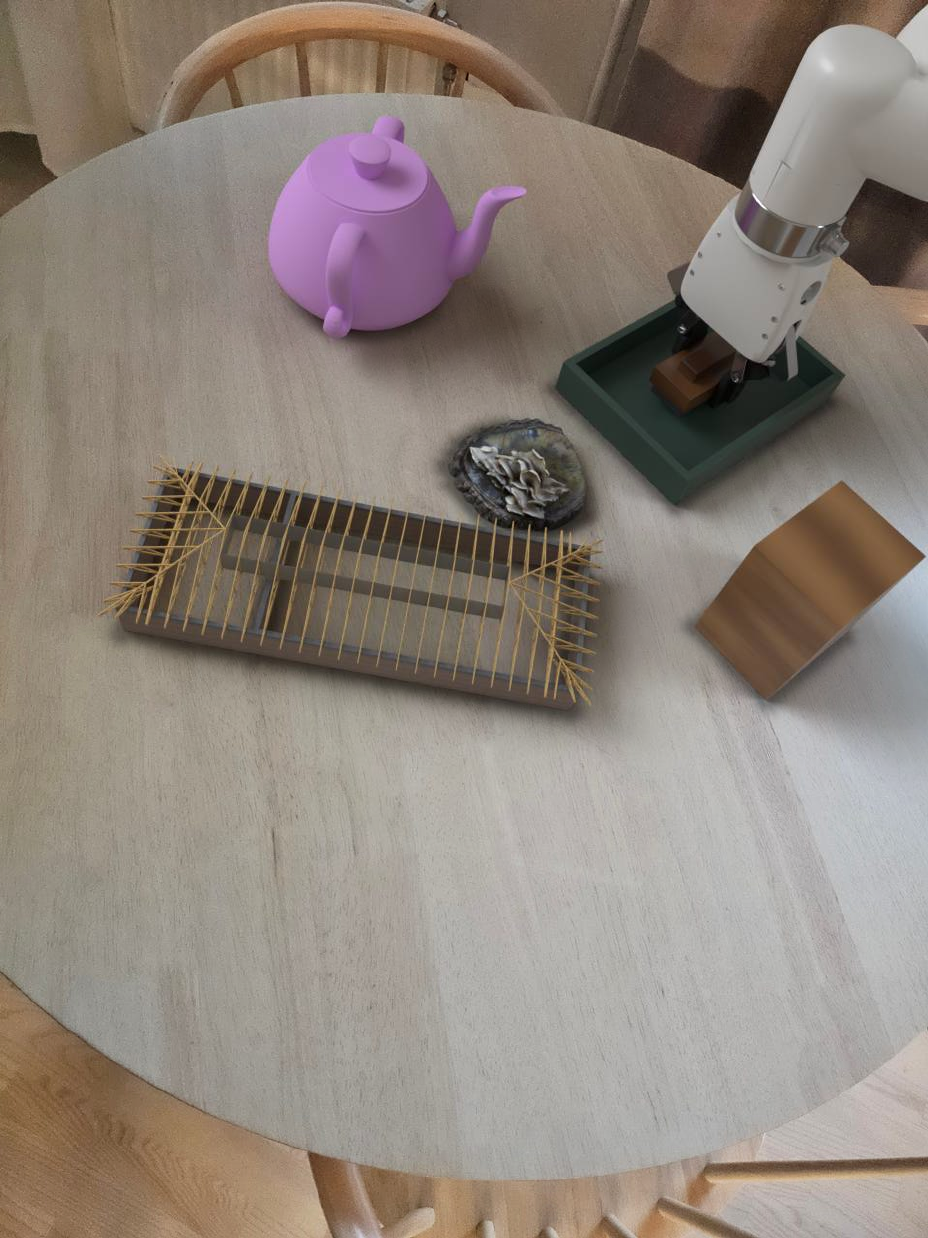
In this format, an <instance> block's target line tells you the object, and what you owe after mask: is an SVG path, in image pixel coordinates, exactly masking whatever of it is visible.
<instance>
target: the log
mask: <svg viewBox="0 0 928 1238" xmlns="http://www.w3.org/2000/svg"><path fill="white" fill-rule="evenodd" d="M451 459H452V460H453V461H452V462H451V463H448V464H447V468H448V472H449V474H450V475H451V476H453V477H454V481H453V486H454V487H455V489H457V490H458V491H460V492H462V496H463V499H464V500H465V501H466V502H467V503H470V504H471V505H472V506H473V508H474V509H475V511H476V512H477V513H478V515H479V516H480V517H481V518H483V519H485V520H486V521H487V522H490V523H491V524H493V525H495V519H496V518H497V521H496V526H499V527H501V528H504V529H505V528H506V529H512V523H513V521H514V528H513V529H515V530H516V529H517V530H527V531H528V529H529V524H530V531H536V532H541V531H543V532H544V533H545V528H547V530H546V532H549V531H554V530H557V529H560V528H561V527H563V526H565V525H567V524H569V523H571V522H573V521H575V520H577V518H579V517H580V515H582V513H583V511H584V508H585V500H586V495H587V488H586V480H585V476H584V474H583V473H584V472H583V469H582V466H581V462H580V460H579V457H578V454H577V452H576V451H575V448H574V446H573V444H572V443H571V442H570V440H569V438H568V437H567V435H565V434H564V432H563V429H562V427H561V426H555V425H554V424H553V423H546V422H544V421H542V420H541V419H540V418H537V417H535V418H534V419H531V418H530V417H526V418H524V419H516V420H515V419H514V418H513V419H509V420H508V421H507V422H503V423H497V424H496V423H495V424H494V425H491V426H490V427H487V426H481V427H479V428H478V429H477V430H476V431H475V432H474V434H473V435H470V434H469V435H467V436H465V437H464V438H463V439H462V440H461V441H460V442H459V443H458V449H457V450H456V451H455V452H454V453H453V455H452V457H451Z"/></svg>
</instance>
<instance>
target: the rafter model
mask: <svg viewBox="0 0 928 1238" xmlns="http://www.w3.org/2000/svg"><path fill="white" fill-rule="evenodd" d="M157 456H158V457H159V458H160V460H161V461H162V462H163V464H164V466H165V467H166V468H163V467H160V466H158V465H155V464H153V468H154V469H156V470H157V471H159V472H160V473H162V474H163V476H162V478H161V479H152V480H151V479H148V480H147V484H151V485H156V486H159V487H158V489H157V492H156V495H145V496H141V499H142V500H146V501H150V502H153V503H152V506H151V507H150V511H149V512H135V516H137V517H143V518H147V519H146V521H145V525H144V527H143V528H142V529H141V528H140V529H128V530H129V533H133V534H139V535H140V539H139V541H138V544H137V546H122V549H123V550H126V551H131V552H134V555H133V558H132V559H131V560H132V561H131V563H117V564H116V567H117V568H121V569H128V571H127V574H126V577H125V579H124V581H110V582H109V585H111V586H116V587H121V590H120V593H118V594H116V595H114V596H111V597H107V598H105V599H103V600H102V602H103V603H109V602H113V604H111V605H109V606H108V607H106V608H105V609H104V610H102V611H101V612H99V613H98V614H97V617H101V616H104V615H105V614H108V613H110V612H112V611H113V610H115V611H116V614H115V616H114V617H113V618H114V621H116V620H117V619H118V620H119V622H120V625H121V628H122V630H123V631H127V632H133V633H137V634H138V633H139V634H143V635H149V636H153V637H154V636H155V637H161V638H165V639H172V640H178V641H183V642H188V643H192V644H193V643H194V644H199V645H204V646H211V647H215V648H221V649H227V650H232V651H237V652H243V653H249V654H255V655H260V656H266V657H270V658H276V659H283V660H287V661H293V662H297V663H298V662H299V663H305V664H310V665H314V666H315V665H316V666H321V667H327V668H331V669H332V668H333V669H337V670H343V671H348V672H354V673H359V674H365V675H370V676H376V677H382V678H388V679H393V680H397V681H398V680H399V681H404V682H410V683H415V684H421V685H425V686H430V687H437V688H441V689H449V690H453V691H459V692H464V693H470V694H474V695H475V694H476V695H481V696H486V697H493V698H497V699H504V700H508V701H514V702H519V703H526V704H530V705H535V706H542V707H548V708H552V709H558V710H565V711H570V709H571V707H572V706H573V704H576V703H577V701H576V699H577V698H578V696H579V695H580V696H581V697H582V699H584V701H585V702H586V703H587V704H588V705H589V706H590V707H591V706H592V703H591V701H590V699H589V698H588V696H587V695H586V693H585V692H584V691H583V689H582V688H581V687H583V688H584V689H587V690H588V691H590V692H592V691H593V688H592V687H590V686H589V685H588V684H587V683H586V682H585V681H584V680H582V672H583V673H589V674H590V673H591V674H594V673H595V670H592V669H590V668H588V667H585V666H583V654H589V655H593V656H595V655H596V652H595V651H592V650H590V649H587V648H585V647H584V643H585V642H584V641H585V636H589V637H593V638H594V637H595V638H596V637H598V634H597V633H593V632H591V631H588V630H586V619H587V618H588V619H592V620H593V619H594V620H598V619H599V616H596V615H594V614H591V613H589V612H587V605H588V601H590V602H596V603H599V602H600V599H598V598H596V597H593V596H591V595H589V594H588V593H589V592H588V591H589V590H588V589H589V584H591V585H595V586H596V585H597V586H600V585H601V582H599V581H596V580H595V579H591V578H590V569H591V568H594V569H600V570H601V569H602V568H603V566H601V565H599V564H597V563H595V562H592V561H591V557H592V556H593V555H597V554H603V552H604V550H602V549H601V550H600V549H599V550H592V548H593V547H595V546H597V545H598V544H600V543H602V542H603V541H604V538H601V539H599V540H597V541H594V542H592V543H590V544H588V545H585V544H586V543H587V541H588V539H590V535H588V536H587V537H586V538H585V540H584V541H583V542H582V543H581V544H576V543H572V531H570V532H569V534H568V542H566V541H564V530H563V529H561V530H560V534H559V540H555V539H550V538H547V531H546V530H547V528H545V532H544V536H543V537H539V536H535V535H531V530H530V524H529V529H528V530H527V534H523V533H519V532H514V529H515V528H514V521H513V523H512V528H511V531H508V530H504V529H497V525H496V521H497V518H496V519H495V524H494V527H493V528H492V527H487V526H481V525H479V524H480V523H479V522H480V514H478V516H477V522H476V524H471V523H465V522H462V517H463V511H462V510H461V511H460V516H459V517H460V518H459V521H457V520H451V519H447V518H446V519H445V518H444V517H445V511H446V507H444V508H443V512H442V517H441V518H440V517H434V516H429V515H427V510H428V506H429V505H428V504H426V507H425V512H424V514H418V513H413V512H409V509H410V506H411V501H409V502H408V507H407V511H403V510H398V509H394V508H392V506H393V502H394V498H393V497H391V501H390V505H389V508H387V507H383V506H377V505H375V500H376V495H377V494H374V496H373V499H372V504H367V503H366V504H365V503H362V502H357V499H358V495H359V491H358V490H357V491H356V494H355V497H354V501H351V500H345V499H340V494H341V491H342V490H341V487H339V489H338V492H337V495H336V498H335V497H330V496H326V495H325V496H324V495H322V492H323V488H324V484H322V485H321V487H320V490H319V493H318V494H314V493H310V492H304V490H305V487H306V483H307V482H306V481H305V480H304V481H303V484H302V487H301V490H300V491H298V490H293V489H288V488H287V485H288V481H289V477H287V478H286V479H285V482H284V484H283V486H282V487H277V486H272V485H269V483H270V479H271V474H269V475H268V477H267V479H266V481H265V484H261V483H257V482H252V481H251V480H252V477H253V474H254V471H253V470H252V471H251V472H250V473H249V476H248V478H247V481H246V480H241V479H237V478H236V479H235V478H234V477H235V475H236V471H237V467H235V468H234V469H233V471H232V472H231V475H230V477H226V476H219V475H218V471H219V468H220V464H217V465H216V467H215V469H214V471H213V473H212V474H210V473H205V472H201V471H202V468H203V465H204V461H200V463H199V464H198V466H197V468H196V470H195V471H193V470H192V468H193V465H194V462H195V459H192V460H191V462H190V464H189V465H188V467H187V469H183V468H178V467H177V463H176V460H175V456H172V459H173V463H174V467H172V466H171V465H170V464H169V463H168V462H167V461H166V460H165V458H164V457H163V456H162V455H161V454H160V453H157ZM180 498H181V500H182V502H178V501H175V499H180ZM191 500H195V501H198V505H197V508H196V511H188V509H189V506H190V503H191ZM208 503H211V504H215V507H214V509H213V511H211V510H210V509H209V508H208V506H207V504H208ZM173 506H177V507H180V508H179V511H171V510H172V508H173ZM225 506H227V507H233V510H232V513H231V514H230V517H229V519H228V521H227V522H226V525H225V526H224V525H223V524H222V523H221V518H222V515H223V512H224V509H225ZM217 509H218V513H216V511H217ZM242 510H248V511H252V513H251V516H244V515H241V513H242ZM235 512H236V514H235ZM261 513H262V514H263V513H264V514H269V515H271V516H270V519H269V520H267V519H261V518H259V517H260V514H261ZM205 514H210V515H211V518H210V520H209V524H208V527H207V528H206V527H205V528H202V527H201V528H200V526H201V522H202V520H203V517H204V515H205ZM170 515H176V519H174V518H171V517H170ZM186 515H194V517H193V520H192V523H191V526H190V528H182V526H183V524H184V521H185V518H186ZM279 516H280V517H283V520H282V523H281V522H277V520H278V517H279ZM196 519H197V522H198V523H197V524H196V525H195V522H196ZM213 520H214V522H215V526H214V527H212V528H211V525H212V523H213ZM297 521H301V522H307V523H308V524H307V527H303V526H299V525H296V524H297ZM167 522H169V523H174V525H173V528H165V527H166V524H167ZM314 524H317V525H323V526H326V528H325V531H324V530H320V529H313V528H314ZM219 526H220V527H219ZM332 527H333V528H339V529H343V530H345V531H344V534H340V533H335V532H331V531H332ZM193 531H194V532H195V534H194V536H193V539H192V542H191V537H192V533H193ZM199 531H200V532H202V531H203V532H205V531H206V533H205V537H204V539H203V542H202V543H200V544H199V545H194V543H195V541H196V538H197V536H198V532H199ZM212 531H214V533H213V535H212V536H211V537H209V536H210V535H209V533H210V532H212ZM217 531H218V532H217ZM236 531H241V532H243V535H242V540H241V544H240V549H239V554H238V555H237V556H236V555H231V554H229V552H230V549H231V546H232V542H233V539H234V536H235V533H236ZM350 531H355V532H360V533H363V535H362V537H357V536H351V535H349V534H350ZM164 532H170V536H168V535H166V534H163V533H164ZM181 532H188V535H187V538H186V541H185V543H184V545H176V544H177V541H178V538H179V535H180V533H181ZM222 533H223V535H222V539H221V544H220V549H219V553H218V558H217V563H216V567H215V571H214V576H213V580H212V584H211V585H212V586H211V589H210V594H209V598H208V603H207V607H206V610H205V611H206V612H205V615H204V619H202V618H196V617H190V616H191V613H192V609H193V606H194V603H195V600H196V596H197V593H198V591H199V587H200V584H201V582H202V578H203V574H204V572H205V568H206V565H207V562H208V559H209V556H210V553H211V549H212V547H213V543H214V540H215V538H217V536H219V535H221V534H222ZM248 533H250V534H251V535H250V539H249V543H248V546H247V549H246V553H245V556H244V557H242V552H243V550H244V546H245V543H246V540H247V536H248ZM254 534H256V535H260V536H262V539H261V543H260V549H259V555H258V559H252V558H248V554H249V551H250V547H251V544H252V540H253V538H254ZM368 534H371V535H376V536H380V537H382V538H381V541H377V540H371V539H367V536H368ZM267 537H269V540H268V544H267V547H266V551H265V555H264V558H263V560H261V557H262V553H263V550H264V546H265V544H266V539H267ZM272 538H277V542H276V545H275V549H274V554H273V556H272V559H271V562H270V561H269V562H268V561H266V559H267V556H268V552H269V549H270V545H271V542H272ZM386 538H391V539H396V540H400V542H399V544H393V543H388V542H385V539H386ZM161 539H163V540H164V539H165V540H168V543H167V545H159V544H160V542H161ZM210 541H211V542H210ZM292 541H293V542H297V543H298V542H299V543H301V544H300V549H299V553H298V558H297V562H296V566H290V565H285V564H286V560H287V558H288V553H289V550H290V546H291V542H292ZM403 541H407V542H411V543H412V542H413V543H417V544H418V548H415V547H410V546H404V545H402V544H403ZM209 542H210V545H209V547H208V543H209ZM421 544H423V545H428V546H432V547H433V546H434V547H436V552H435V551H430V550H425V549H421ZM304 545H306V546H305V550H304V554H303V549H304ZM309 545H314V546H320V547H319V553H318V557H317V562H316V567H315V570H311V569H307V568H303V565H304V562H305V558H306V555H307V551H308V547H309ZM204 547H205V552H204ZM323 548H324V550H323ZM327 548H329V549H335V550H339V551H338V557H337V561H336V566H335V570H334V573H328V572H322V566H323V562H324V559H325V556H326V555H325V554H326V551H327ZM439 548H445V549H448V550H449V549H450V550H454V553H453V555H452V554H446V553H440V552H439ZM157 549H163V550H164V553H162V552H159V551H157ZM175 549H183V550H182V553H181V556H180V558H178V559H177V560H176V561H175V562H173V563H170V561H171V559H172V557H173V553H174V550H175ZM186 549H187V551H186ZM199 549H200V552H199V557H198V561H197V565H196V570H195V574H194V579H193V584H192V588H191V592H190V597H189V601H188V606H187V611H186V615H185V616H184V615H180V614H174V613H172V610H173V607H174V604H175V601H176V598H177V595H178V593H179V589H180V586H181V583H182V580H183V577H184V574H185V571H186V568H187V565H188V562H189V559H190V556H191V554H193V553H194V552H195V551H197V550H199ZM458 551H460V552H465V553H471V554H472V555H471V558H467V557H462V556H457V552H458ZM345 552H351V553H356V554H358V555H357V558H356V559H357V560H356V564H355V570H354V574H353V577H349V576H344V575H340V572H341V568H342V564H343V559H344V555H345ZM322 553H323V554H322ZM302 554H303V559H302V560H301V557H302ZM363 555H368V556H373V557H377V558H376V563H375V567H374V574H373V579H372V581H370V580H367V579H360V578H358V576H359V572H360V568H361V562H362V559H363ZM476 555H481V556H486V557H489V562H488V561H483V560H478V559H475V557H476ZM155 556H158V557H162V560H161V563H153V561H154V558H155ZM321 556H322V558H321ZM381 558H384V559H387V560H388V559H389V560H392V561H393V560H394V561H395V566H394V572H393V577H392V581H391V582H392V583H391V584H387V583H381V582H377V576H378V572H379V567H380V561H381ZM494 558H496V559H501V560H502V559H503V560H507V562H506V565H504V564H499V563H494ZM201 559H202V564H203V565H202V567H201V568H200V563H201ZM183 560H184V562H183V563H182V561H183ZM320 560H321V561H320ZM300 561H301V564H300ZM399 562H403V563H410V564H414V570H413V574H412V580H411V585H410V588H408V587H402V586H397V585H395V580H396V577H397V571H398V566H399ZM512 562H518V563H523V573H522V575H521V576H518V577H517V578H515V579H513V580H511V571H512ZM320 563H321V564H320ZM176 564H178V565H177V567H176V568H177V569H176V573H175V576H174V582H173V585H172V590H171V595H170V598H169V603H168V608H167V612H164V611H158V610H154V609H155V605H156V603H157V599H158V596H159V595H160V591H161V588H162V585H163V583H164V579H165V576H166V573H167V571H168V570H169V569H171V568H172V567H174V566H175V565H176ZM219 564H220V570H219V571H218V568H219ZM319 564H320V567H319ZM299 565H300V567H299ZM417 565H421V566H425V567H431V568H433V569H432V574H431V580H430V585H429V590H428V591H424V590H420V589H419V590H418V589H414V588H413V586H414V584H413V583H414V579H415V574H416V569H417ZM529 565H535V566H540V567H538V568H536V569H534V570H532V571H529ZM151 567H158V571H157V570H154V569H151ZM181 567H183V570H182V571H181ZM199 568H200V569H199ZM318 568H319V569H318ZM546 568H550V569H553V570H554V569H555V570H556V573H555V581H554V580H552V579H550V578H547V577H545V573H546ZM436 569H442V570H447V571H450V577H449V583H448V588H447V594H446V595H445V594H442V593H441V594H440V593H435V592H432V588H433V587H432V586H433V581H434V577H435V576H434V575H435V571H436ZM224 570H230V571H235V573H234V576H233V581H232V585H231V590H230V595H229V599H228V604H227V609H226V613H225V618H224V622H218V621H212V620H209V617H210V613H211V611H212V607H213V605H214V601H215V599H216V594H217V591H218V588H219V585H220V581H221V578H222V575H223V572H224ZM538 571H539V574H537V573H536V572H538ZM564 571H566V572H567V573H570V574H572V575H562V574H563V572H564ZM238 572H239V574H238V575H237V573H238ZM455 572H456V573H457V572H458V573H464V574H468V580H467V585H466V591H465V592H466V594H465V598H462V597H456V596H451V591H452V590H451V589H452V584H453V579H454V573H455ZM243 573H246V574H251V575H254V578H253V582H252V585H251V591H250V594H249V595H250V596H249V601H248V604H247V605H248V606H247V609H246V615H245V619H244V624H243V626H240V625H235V624H228V622H229V618H230V614H231V611H232V608H233V605H234V602H235V598H236V594H237V591H238V588H239V586H240V585H239V584H240V581H241V577H242V574H243ZM149 574H154V576H152V577H151V578H149V579H148V580H147V578H148V575H149ZM199 574H200V576H199ZM178 575H179V576H180V578H179V580H178V582H177V579H178ZM529 575H532V576H534V577H537V578H539V581H538V589H537V590H538V591H534V590H533V589H530V588H527V583H528V576H529ZM198 576H199V579H198ZM261 576H263V577H266V581H265V585H264V588H263V591H262V595H261V599H260V602H259V606H258V610H257V613H256V617H255V620H254V624H253V627H252V628H250V627H247V626H248V623H249V619H250V616H251V612H252V608H253V605H254V601H255V598H256V595H257V591H258V587H259V585H260V580H261ZM473 576H479V577H484V578H486V583H485V589H484V595H483V596H484V597H483V601H478V600H473V599H469V598H470V591H471V587H472V586H471V585H472V580H473ZM216 579H218V580H217V581H216ZM492 579H495V580H501V581H504V583H503V593H502V599H501V605H500V604H493V603H489V602H488V600H489V594H490V587H491V581H492ZM561 579H564V580H570V581H574V587H573V588H571V587H569V586H566V585H565V584H562V583H561ZM281 580H283V581H289V582H293V583H292V587H291V590H290V591H291V592H290V598H289V602H288V605H287V606H288V607H287V611H286V615H285V621H284V626H283V631H282V632H278V631H273V630H268V627H269V623H270V619H271V617H272V612H273V609H274V605H275V601H276V597H277V594H278V590H279V587H280V583H281ZM518 580H521V584H517V583H514V582H517V581H518ZM151 581H154V584H153V585H150V586H147V584H148V583H150V582H151ZM545 581H547V582H549V583H552V584H553V585H554V590H553V591H554V593H553V598H552V597H549V596H547V595H544V594H543V591H544V582H545ZM236 582H237V583H236ZM524 582H525V583H524ZM298 584H304V585H310V586H312V587H311V591H310V597H309V600H308V601H309V602H308V606H307V611H306V617H305V621H304V625H303V630H302V636H300V635H295V634H289V633H286V632H287V629H288V623H289V621H290V619H289V618H290V617H291V612H292V608H293V604H294V600H295V597H296V593H297V588H298V586H299V585H298ZM195 586H196V587H195ZM318 587H320V588H327V589H331V591H330V596H329V601H328V606H327V611H326V616H325V621H324V626H323V632H322V636H321V639H316V638H310V637H306V631H307V628H308V624H309V620H310V615H311V611H312V608H313V603H314V599H315V595H316V591H317V588H318ZM515 587H517V588H519V589H520V594H519V593H518V591H517V590H516V588H515ZM510 588H511V589H512V591H513V592H514V593H515V595H516V597H517V598H518V599H519V604H518V612H517V620H516V628H515V635H514V636H515V637H514V645H513V653H512V661H511V670H510V674H509V673H503V672H497V671H496V667H497V661H498V655H499V649H500V644H501V643H500V642H501V637H502V631H503V625H504V619H505V613H506V608H507V607H506V605H507V602H508V596H509V590H510ZM562 588H564V589H565V590H568V591H571V592H560V591H561V589H562ZM336 590H337V591H343V592H348V593H350V594H349V601H348V606H347V609H346V610H347V611H346V617H345V621H344V625H343V629H342V630H343V631H342V636H341V641H340V643H338V642H333V641H329V640H325V636H326V631H327V626H328V622H329V620H330V619H329V618H330V614H331V609H332V606H333V601H334V597H335V594H336ZM150 591H152V592H151V596H150V602H149V606H148V609H147V608H144V606H145V602H146V600H147V597H148V594H149V592H150ZM526 591H527V592H530V593H531V594H534V595H537V596H536V597H537V598H536V607H535V609H533V608H530V607H528V606H527V605H526V603H525V600H526ZM355 594H359V595H364V596H369V598H368V604H367V609H366V614H365V615H366V616H365V620H364V627H363V630H362V635H361V641H360V646H354V645H350V644H344V638H345V635H346V630H347V625H348V622H349V621H348V620H349V616H350V613H351V609H352V603H353V600H354V595H355ZM559 596H563V597H569V598H572V606H571V605H569V604H566V603H564V602H562V601H559V598H560V597H559ZM140 597H141V598H140ZM373 597H375V598H381V599H385V600H386V599H387V600H388V603H387V609H386V613H385V619H384V624H383V628H382V629H383V630H382V634H381V640H380V644H379V650H377V649H372V648H365V647H363V643H364V637H365V633H366V628H367V625H368V619H369V613H370V609H371V606H372V599H373ZM539 598H540V599H539ZM543 598H544V599H546V600H549V601H551V602H552V611H551V612H552V613H551V615H548V614H546V613H543V612H542V611H541V610H542V600H543ZM139 600H140V602H139ZM391 601H396V602H402V603H407V607H406V612H405V617H404V622H403V629H402V633H401V639H400V644H399V648H398V649H399V650H398V653H393V652H387V651H383V650H382V645H383V640H384V636H385V631H386V625H387V621H388V615H389V611H390V605H391ZM138 603H139V606H138ZM410 604H413V605H416V606H417V605H419V606H424V607H425V613H424V618H423V625H422V631H421V636H420V640H419V647H418V653H417V657H414V656H410V655H404V654H401V649H402V643H403V638H404V632H405V628H406V622H407V618H408V612H409V606H410ZM561 605H562V606H564V607H566V608H568V609H559V608H560V606H561ZM429 608H435V609H440V610H444V613H443V619H442V626H441V631H440V637H439V643H438V649H437V655H436V660H431V659H426V658H420V652H421V648H422V642H423V636H424V631H425V624H426V620H427V614H428V609H429ZM524 609H525V610H526V612H527V613H528V615H529V616H530V617H531V619H532V620H533V622H534V626H533V635H532V644H531V653H530V660H529V661H530V662H529V668H528V669H529V670H528V677H525V676H519V675H513V674H514V669H515V663H516V657H517V652H518V645H519V641H520V635H521V634H520V633H521V628H522V622H523V615H524ZM448 611H451V612H455V613H461V614H462V619H461V623H460V624H461V625H460V632H459V638H458V644H457V651H456V657H455V663H448V662H442V661H439V656H440V651H441V646H442V640H443V635H444V628H445V623H446V617H447V612H448ZM532 612H533V613H535V617H534V616H533V613H532ZM558 613H562V614H565V615H566V614H567V615H571V622H570V623H568V622H565V621H563V620H561V619H558V618H557V616H558ZM466 614H467V615H472V616H478V617H481V618H480V625H479V631H478V639H477V643H476V644H477V646H476V650H475V651H476V652H475V659H474V665H473V666H474V667H470V666H465V665H460V664H458V661H459V654H460V648H461V642H462V637H463V632H464V626H465V620H466ZM541 616H543V617H545V618H548V619H550V620H551V622H550V633H549V634H548V633H546V632H544V631H543V628H542V627H541V626H540V619H541ZM485 618H488V619H494V620H498V630H497V637H496V643H495V645H496V646H495V653H494V660H493V667H492V671H491V670H487V669H481V668H477V665H478V664H477V662H478V657H479V652H480V647H481V640H482V634H483V629H484V628H483V627H484V623H485ZM559 623H561V624H563V625H566V627H565V626H562V627H561V626H558V624H559ZM557 626H558V627H557ZM556 630H557V631H562V632H567V633H569V641H566V640H564V639H561V638H558V637H556ZM539 631H540V633H541V635H543V637H544V638H545V640H546V641H547V643H548V652H547V660H546V661H547V662H546V670H545V672H546V673H545V680H542V679H536V678H532V672H533V667H534V661H535V654H536V648H537V643H538V636H539ZM557 641H559V642H561V643H563V644H561V645H560V644H556V642H557ZM565 644H566V645H565ZM556 649H560V650H567V651H568V655H567V660H566V659H564V658H561V656H560V655H559V653H558V651H557V650H556ZM555 655H556V656H557V658H558V659H559V662H558V661H557V660H556V659H555V658H554V657H555ZM552 663H554V665H555V666H556V668H555V669H556V671H555V679H554V682H551V681H550V675H551V671H552V670H551V669H552ZM560 672H561V674H562V675H563V677H564V680H565V684H564V683H559V677H560Z"/></svg>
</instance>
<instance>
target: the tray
mask: <svg viewBox="0 0 928 1238" xmlns="http://www.w3.org/2000/svg"><path fill="white" fill-rule="evenodd" d="M679 321H680V320H679V316H678V312H677V308H676V304H675V298H674V299H673V300H671V301H669V302H667V303H665V304H663V305H661V306H660V307H659V308H657V309H655V310H653V311H651V312H649V313H648V314H646V315H644V316H643V317H641V318H639V319H637V320H635V321H633V322H631V323H629V324H628V325H626V326H624V327H622V328H621V329H619V330H617V331H615V332H613V333H611V334H610V335H608V336H607V337H604V338H603V339H600V340H599V341H598V342H595V343H594V344H592V345H590V346H588V347H587V348H584V349H583V350H581V351H580V352H578V353H576V354H574V355H572V356H571V357H568V358H566V359H565V360H563V362H562V365H561V368H560V371H559V374H558V377H557V381H556V384H555V386H554V389H555V390H556V391H557V392H558V394H559V395H560V396H562V397H563V398H564V399H565V400H566V401H567V402H568V403H569V404H570V405H571V406H572V407H573V408H574V409H575V410H576V411H577V412H578V413H579V414H580V415H581V416H582V417H583V418H584V419H585V420H586V421H587V422H588V423H589V424H590V425H591V426H592V427H593V428H594V429H596V430H597V432H599V434H601V436H602V437H604V439H605V440H607V442H608V443H610V444H611V445H612V446H613V447H614V448H615V449H616V451H618V452H619V453H620V454H621V455H622V456H623V457H624V458H625V459H626V460H627V461H628V462H629V463H630V464H631V465H632V466H633V467H634V468H635V469H636V470H637V471H638V472H639V473H640V474H642V476H643V477H644V478H646V479H647V481H649V483H650V484H651V485H653V487H654V488H655V489H657V490H658V491H659V492H660V493H661V494H662V495H663V496H664V497H665V498H666V499H667V500H668V501H669V502H670V503H671V504H672V505H673V506H676V505H678V504H679V503H681V502H682V501H684V500H686V499H687V498H688V497H690V496H691V495H693V494H694V493H696V492H698V490H701V488H703V487H705V486H706V485H707V484H709V483H710V482H712V481H714V479H717V478H718V477H719V476H720V475H722V474H723V473H725V472H726V471H727V470H729V469H731V468H732V467H733V466H735V465H736V464H738V463H739V462H741V461H742V460H744V459H745V458H746V457H748V456H749V455H751V454H752V453H754V452H755V451H757V450H758V449H760V448H761V447H762V446H764V445H766V444H767V443H768V442H770V441H772V440H773V439H774V438H776V437H777V436H779V435H780V434H782V433H783V432H785V431H786V430H787V429H789V428H791V427H792V426H793V425H795V424H796V423H797V422H799V421H800V420H802V419H804V418H805V417H806V416H808V415H809V414H811V413H813V412H814V411H815V410H816V409H818V408H819V407H821V406H822V405H824V404H825V403H827V402H828V401H829V400H830V398H831V397H832V396H833V394H834V393H835V391H836V390H837V388H838V387H839V385H840V384H841V383H842V381H843V380H844V378H845V377H846V373H844V372H843V371H842V370H841V369H839V368H838V367H837V366H836V365H835V364H834V363H832V362H831V361H830V360H829V359H827V357H825V356H824V355H823V354H822V353H821V352H819V351H818V350H817V349H815V347H814V346H812V345H811V343H809V342H808V341H806V339H804V338H803V337H802V336H801V335H799V337H798V338H797V340H796V352H797V365H798V373H797V375H796V376H794V377H793V378H791V379H789V380H788V381H786V382H783V381H775V380H770V379H766V378H765V379H763V380H748V381H747V383H746V385H745V386H744V388H743V390H742V391H741V393H740V395H739V396H738V397H737V398H736V399H735V400H734V401H733V402H731V403H730V404H728V403H727V402H724V403H722V404H721V405H719V406H717V407H716V408H714V409H712V408H711V407H710V406H708V405H709V403H708V401H709V400H707V401H706V402H704V403H703V404H701V405H699V406H698V407H696V408H695V409H693V410H692V411H690V412H688V413H687V414H685V415H684V416H682V417H680V418H679V417H678V416H677V415H676V414H675V413H674V412H673V411H672V410H670V409H669V408H668V407H667V406H666V405H665V404H664V403H663V402H662V401H661V400H660V399H659V398H658V397H657V396H656V395H655V394H654V393H652V392H651V388H652V386H653V384H652V383H651V382H650V381H649V379H650V377H651V374H652V372H653V370H654V368H655V366H657V365H658V364H660V363H662V362H664V361H665V360H667V359H669V358H670V357H672V355H673V353H672V352H671V350H672V348H673V346H674V344H675V341H676V339H677V337H678V335H679V332H678V330H677V323H678V322H679ZM705 323H706V322H705ZM706 324H707V323H706ZM707 325H708V324H707ZM708 326H709V325H708ZM707 330H708V333H707V335H706V336H708V335H709V334H711V333H713V332H714V331H715V330H714V329H712V328H711V327H710V326H709V327H708V329H707ZM767 359H774V360H775V351H774V353H773V354H771V355H770V356H769V357H768V358H767Z"/></svg>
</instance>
